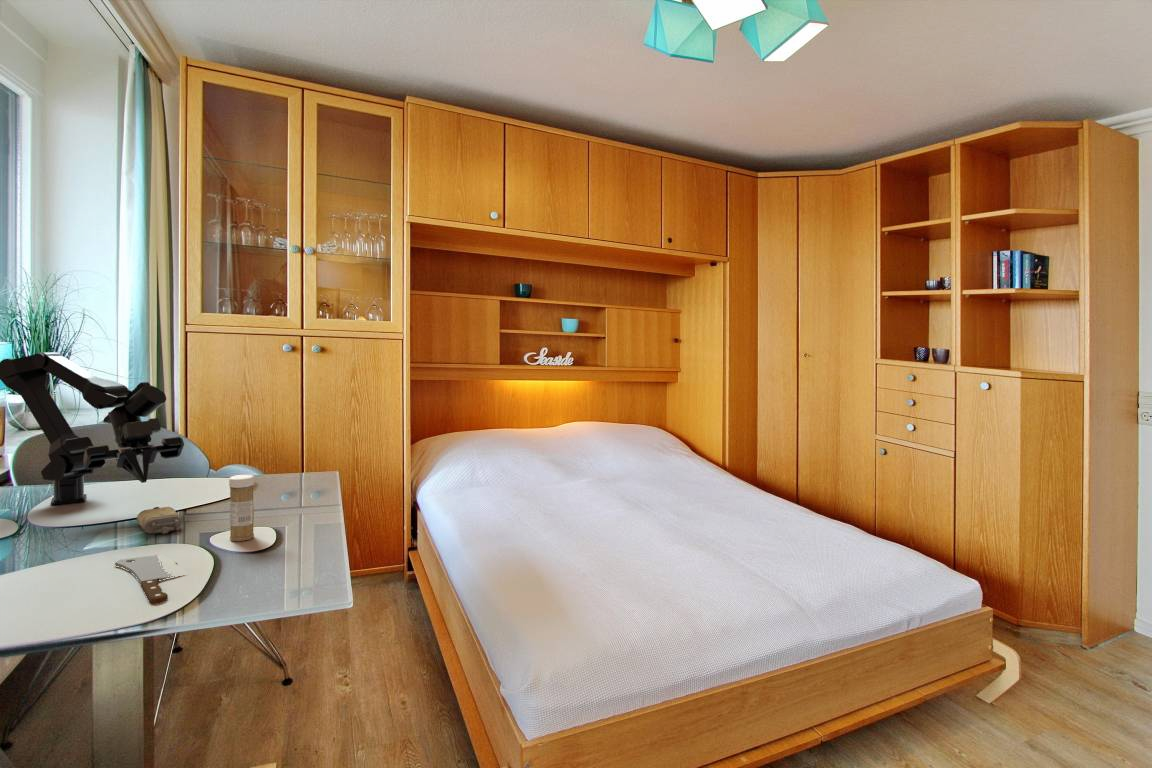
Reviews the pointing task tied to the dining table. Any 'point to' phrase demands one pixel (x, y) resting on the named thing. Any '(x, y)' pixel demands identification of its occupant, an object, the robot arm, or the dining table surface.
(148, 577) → the kitchen cleaver
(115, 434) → the robot arm
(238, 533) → the sprinkles bottle
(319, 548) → the dining table surface
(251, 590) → the dining table surface
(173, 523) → the beige handled case
